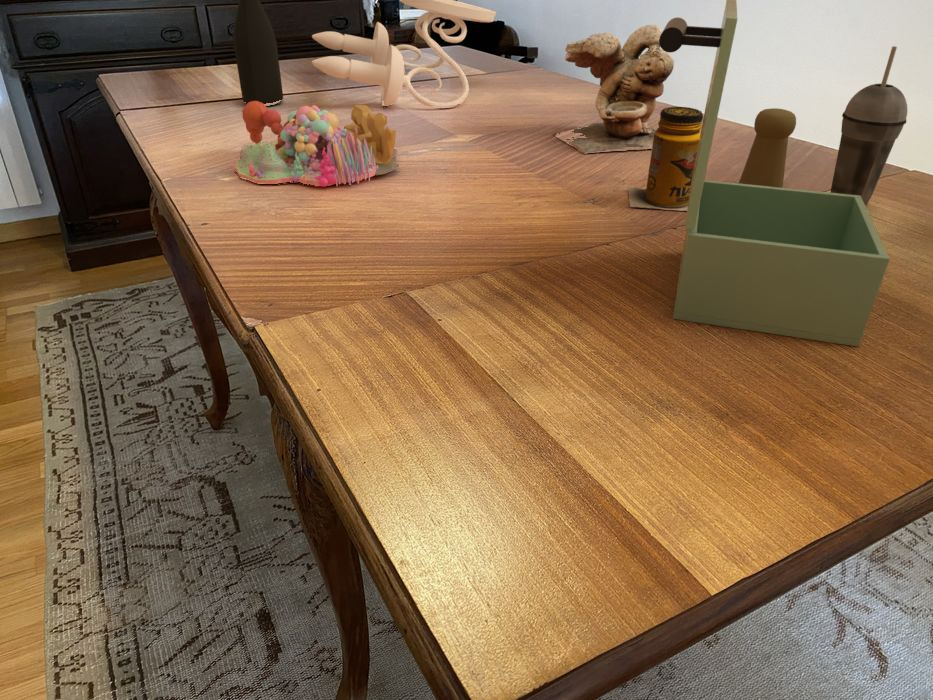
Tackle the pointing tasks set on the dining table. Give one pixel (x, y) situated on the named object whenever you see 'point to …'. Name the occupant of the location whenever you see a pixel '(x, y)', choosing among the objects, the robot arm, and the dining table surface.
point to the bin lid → (723, 40)
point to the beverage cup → (868, 136)
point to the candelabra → (389, 60)
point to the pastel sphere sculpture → (316, 146)
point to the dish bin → (781, 262)
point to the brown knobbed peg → (769, 148)
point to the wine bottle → (256, 54)
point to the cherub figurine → (622, 87)
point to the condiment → (671, 161)
